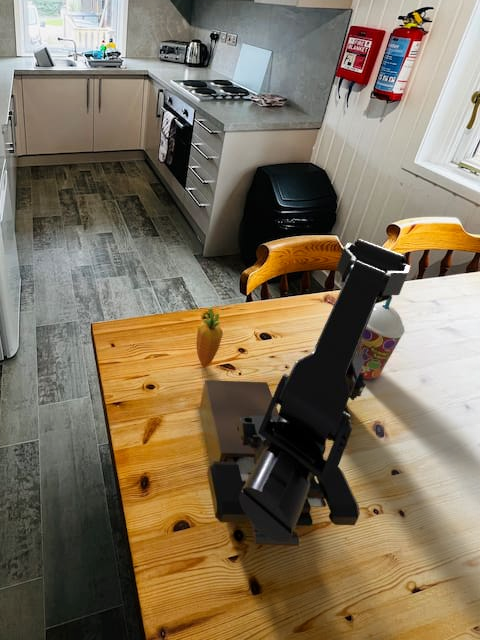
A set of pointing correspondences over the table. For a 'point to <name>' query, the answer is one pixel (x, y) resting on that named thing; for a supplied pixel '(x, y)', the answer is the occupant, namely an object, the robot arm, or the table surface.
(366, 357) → the smoothie
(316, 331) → the table surface
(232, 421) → the cabinet
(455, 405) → the table surface
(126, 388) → the table surface
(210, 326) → the carrot
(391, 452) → the table surface
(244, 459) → the dumpling
